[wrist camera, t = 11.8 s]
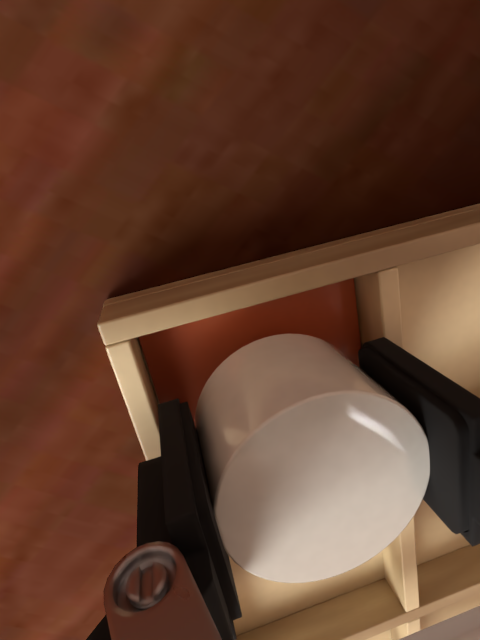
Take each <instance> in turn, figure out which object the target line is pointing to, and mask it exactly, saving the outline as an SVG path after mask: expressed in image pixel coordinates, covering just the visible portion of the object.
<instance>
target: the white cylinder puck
mask: <svg viewBox="0 0 480 640" xmlns="http://www.w3.org/2000/svg"><path fill="white" fill-rule="evenodd" d="M195 428H196V432H197V437H198V442H199V446H200V451H201V456H202V461H203V465H204V470H205V475H206V479H207V484H208V489H209V493H210V498H211V503H212V508H213V512H214V516H215V519H216V522H217V526H218V529H219V532H220V536H221V539H222V542H223V545H224V549H225V551H226V553H227V554H228V555H229V556H230V557H231V558H232V560H233V561H234V562H235V563H236V564H238V565H239V566H240V567H242V568H243V569H244V570H246V571H248V572H249V573H251V574H253V575H255V576H258V577H261V578H263V579H266V580H271V581H275V582H282V583H306V582H314V581H319V580H323V579H328V578H331V577H334V576H337V575H340V574H343V573H345V572H347V571H350V570H352V569H354V568H356V567H358V566H360V565H361V564H363V563H365V562H367V561H368V560H370V559H371V558H373V557H374V556H376V555H377V554H378V553H380V552H381V551H382V550H383V549H385V548H386V547H387V546H388V545H389V544H390V543H392V542H393V541H394V540H395V539H396V538H397V537H398V536H399V534H400V533H401V532H402V531H403V530H404V529H405V528H406V526H407V525H408V524H409V522H410V521H411V519H412V518H413V517H414V515H415V513H416V511H417V510H418V508H419V506H420V504H421V502H422V500H423V497H424V495H425V493H426V489H427V486H428V483H429V477H430V457H429V444H428V440H427V436H426V434H425V432H424V430H423V428H422V426H421V424H420V423H419V421H418V420H417V419H416V417H415V416H414V415H413V414H412V413H411V412H410V411H409V410H408V409H407V408H406V407H405V406H404V405H402V404H401V403H400V402H399V401H398V400H397V399H395V398H394V397H393V396H392V395H391V394H390V393H388V392H387V391H386V390H385V389H384V388H383V387H381V386H380V385H379V384H378V383H377V382H376V381H374V380H373V379H372V378H371V377H370V376H369V375H367V374H366V373H365V372H364V371H363V370H362V369H360V368H359V367H358V366H357V365H356V364H355V363H353V362H352V361H351V360H350V359H349V358H348V357H346V356H345V355H344V354H343V353H342V352H341V351H339V350H338V349H337V348H336V347H334V346H333V345H331V344H330V343H328V342H326V341H324V340H322V339H319V338H316V337H313V336H309V335H303V334H279V335H273V336H269V337H265V338H262V339H259V340H256V341H253V342H251V343H249V344H247V345H245V346H243V347H242V348H240V349H239V350H237V351H236V352H234V353H233V354H231V355H230V356H229V357H228V358H227V359H225V360H224V361H223V362H222V363H221V364H220V365H219V366H218V367H217V368H216V369H215V371H214V372H213V373H212V375H211V376H210V378H209V379H208V380H207V382H206V384H205V386H204V388H203V389H202V392H201V394H200V397H199V399H198V403H197V407H196V412H195Z"/></svg>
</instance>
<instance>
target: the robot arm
mask: <svg viewBox="0 0 480 640" xmlns="http://www.w3.org/2000/svg"><path fill="white" fill-rule="evenodd" d="M358 359H359V368H360V369H362V370H363V371H364V372H365V373H366V374H367V375H369V376H370V377H371V378H372V379H373V380H374V381H376V382H377V383H378V384H379V385H380V386H381V387H383V388H384V389H385V390H386V391H387V392H388V393H390V394H391V395H392V396H393V397H394V398H395V399H397V400H398V401H399V402H400V403H401V404H402V405H404V406H405V407H406V408H407V409H408V410H409V411H410V412H411V413H412V414H413V415H414V416H415V417H416V419H417V420H418V421H419V423H420V424H421V426H422V428H423V430H424V432H425V434H426V436H427V440H428V444H429V457H430V477H429V483H428V486H427V489H426V493H425V495H424V497H423V500H424V501H425V502H426V503H427V504H428V506H429V507H430V508H431V509H432V510H433V511H434V512H435V513H436V515H437V516H438V517H439V518H440V519H441V520H442V521H443V523H444V524H445V525H446V526H447V527H448V528H449V529H450V530H451V531H452V532H453V533H455V534H459V533H461V535H462V536H463V537H464V538H465V539H466V540H467V541H468V542H469V543H470V545H471V546H472V547H473V546H476V545H478V544H480V398H479V397H477V396H476V395H474V394H472V393H471V392H469V391H468V390H466V389H465V388H463V387H462V386H460V385H458V384H457V383H455V382H454V381H452V380H451V379H449V378H448V377H446V376H444V375H443V374H441V373H440V372H438V371H437V370H435V369H434V368H432V367H430V366H429V365H427V364H426V363H424V362H423V361H421V360H420V359H418V358H416V357H415V356H413V355H412V354H410V353H409V352H407V351H406V350H404V349H402V348H401V347H399V346H398V345H396V344H395V343H393V342H392V341H390V340H388V339H387V338H385V337H382V338H378V339H375V340H372V341H368V342H365V343H364V344H363V347H362V349H359V351H358ZM158 418H159V434H160V449H161V456H160V457H157V458H154V459H151V460H147V461H144V462H141V463H139V466H138V505H137V548H135V549H133V550H132V551H131V552H129V553H128V554H126V555H125V556H124V557H123V558H122V559H121V560H120V561H119V562H118V563H117V564H116V565H115V567H114V568H113V570H112V572H111V573H110V575H109V577H108V578H107V582H106V585H105V588H104V606H105V611H106V615H105V617H104V618H103V619H102V620H101V622H100V623H99V624H98V625H97V627H96V628H95V629H94V630H93V632H92V633H91V634H90V635H89V637H88V638H87V639H86V640H236V639H237V637H236V632H235V627H234V622H233V620H236V619H238V618H241V617H242V612H241V608H240V604H239V599H238V595H237V590H236V586H235V582H234V577H233V573H232V569H231V564H230V560H229V555H228V554H227V553H226V551H225V549H224V545H223V542H222V539H221V536H220V532H219V529H218V526H217V522H216V519H215V516H214V512H213V508H212V503H211V498H210V493H209V489H208V484H207V479H206V475H205V470H204V465H203V461H202V456H201V451H200V446H199V442H198V437H197V432H196V428H195V425H194V421H193V418H192V415H191V411H190V408H189V404H188V402H183V403H180V402H179V399H174V400H171V401H168V402H164V403H161V404H158ZM399 640H480V606H478V607H475V608H473V609H470V610H468V611H466V612H463V613H461V614H458V615H456V616H454V617H451V618H449V619H446V620H444V621H442V622H439V623H437V624H434V625H432V626H430V627H427V628H425V629H423V630H420V631H418V632H415V633H413V634H411V635H408V636H406V637H403V638H401V639H399Z"/></svg>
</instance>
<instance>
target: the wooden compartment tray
mask: <svg viewBox="0 0 480 640" xmlns="http://www.w3.org/2000/svg"><path fill="white" fill-rule="evenodd" d="M97 326H98V329H99V332H100V335H101V337H102V340H103V343H104V344H105V345H106V351H107V354H108V357H109V360H110V362H111V365H112V368H113V371H114V373H115V376H116V379H117V382H118V384H119V387H120V390H121V393H122V395H123V398H124V401H125V404H126V407H127V409H128V412H129V415H130V418H131V420H132V423H133V426H134V429H135V431H136V434H137V437H138V440H139V442H140V445H141V448H142V451H143V453H144V456H145V459H146V461H147V460H151V459H154V458H157V457H160V456H161V449H160V434H159V418H158V404H161V403H164V402H168V401H171V400H174V399H179V402H180V403H183V402H188V404H189V408H190V411H191V415H192V418H193V421H194V425H195V412H196V407H197V403H198V399H199V397H200V394H201V392H202V389H203V388H204V386H205V384H206V382H207V380H208V379H209V378H210V376H211V375H212V373H213V372H214V371H215V369H216V368H217V367H218V366H219V365H220V364H221V363H222V362H223V361H224V360H225V359H227V358H228V357H229V356H230V355H231V354H233V353H234V352H236V351H237V350H239V349H240V348H242V347H243V346H245V345H247V344H249V343H251V342H253V341H256V340H259V339H262V338H265V337H269V336H273V335H279V334H303V335H309V336H313V337H316V338H319V339H322V340H324V341H326V342H328V343H330V344H331V345H333V346H334V347H336V348H337V349H338V350H339V351H341V352H342V353H343V354H344V355H345V356H346V357H348V358H349V359H350V360H351V361H352V362H353V363H355V364H356V365H357V366H358V367H359V359H358V351H359V349H362V347H363V344H364V343H365V342H368V341H372V340H375V339H378V338H382V337H385V338H387V339H388V340H390V341H392V342H393V343H395V344H396V345H398V346H399V347H401V348H402V349H404V350H406V351H407V352H409V353H410V354H412V355H413V356H415V357H416V358H418V359H420V360H421V361H423V362H424V363H426V364H427V365H429V366H430V367H432V368H434V369H435V370H437V371H438V372H440V373H441V374H443V375H444V376H446V377H448V378H449V379H451V380H452V381H454V382H455V383H457V384H458V385H460V386H462V387H463V388H465V389H466V390H468V391H469V392H471V393H472V394H474V395H476V396H477V397H479V398H480V203H479V204H475V205H472V206H468V207H464V208H460V209H456V210H452V211H448V212H444V213H441V214H437V215H433V216H429V217H425V218H421V219H417V220H413V221H409V222H406V223H402V224H398V225H394V226H390V227H386V228H382V229H378V230H375V231H371V232H367V233H363V234H359V235H355V236H351V237H347V238H343V239H340V240H336V241H332V242H328V243H324V244H320V245H316V246H312V247H309V248H305V249H301V250H297V251H293V252H289V253H285V254H281V255H277V256H274V257H270V258H266V259H262V260H258V261H254V262H250V263H246V264H243V265H239V266H235V267H231V268H227V269H223V270H219V271H215V272H211V273H208V274H204V275H200V276H196V277H192V278H188V279H184V280H180V281H177V282H173V283H169V284H165V285H161V286H157V287H153V288H149V289H145V290H142V291H138V292H134V293H130V294H126V295H122V296H118V297H114V298H111V299H107V300H105V302H104V305H103V309H102V312H101V315H100V318H99V321H98V324H97ZM229 560H230V564H231V569H232V573H233V577H234V582H235V586H236V590H237V595H238V599H239V604H240V608H241V612H242V617H241V618H238V619H236V620H233V622H234V627H235V632H236V637H237V639H236V640H399V639H401V638H403V637H406V636H408V635H411V634H413V633H415V632H418V631H420V630H423V629H425V628H427V627H430V626H432V625H434V624H437V623H439V622H442V621H444V620H446V619H449V618H451V617H454V616H456V615H458V614H461V613H463V612H466V611H468V610H470V609H473V608H475V607H478V606H480V544H478V545H476V546H473V547H472V546H471V545H470V543H469V542H468V541H467V540H466V539H465V538H464V537H463V536H462V535H461V533H459V534H455V533H453V532H452V531H451V530H450V529H449V528H448V527H447V526H446V525H445V524H444V523H443V521H442V520H441V519H440V518H439V517H438V516H437V515H436V513H435V512H434V511H433V510H432V509H431V508H430V507H429V506H428V504H427V503H426V502H425V501H424V500H422V502H421V504H420V506H419V508H418V510H417V511H416V513H415V515H414V517H413V518H412V519H411V521H410V522H409V524H408V525H407V526H406V528H405V529H404V530H403V531H402V532H401V533H400V534H399V536H398V537H397V538H396V539H395V540H394V541H393V542H392V543H390V544H389V545H388V546H387V547H386V548H385V549H383V550H382V551H381V552H380V553H378V554H377V555H376V556H374V557H373V558H371V559H370V560H368V561H367V562H365V563H363V564H361V565H360V566H358V567H356V568H354V569H352V570H350V571H347V572H345V573H343V574H340V575H337V576H334V577H331V578H328V579H323V580H319V581H314V582H306V583H282V582H275V581H271V580H266V579H263V578H261V577H258V576H255V575H253V574H251V573H249V572H248V571H246V570H244V569H243V568H242V567H240V566H239V565H238V564H236V563H235V562H234V561H233V560H232V558H231V557H230V556H229Z"/></svg>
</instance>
